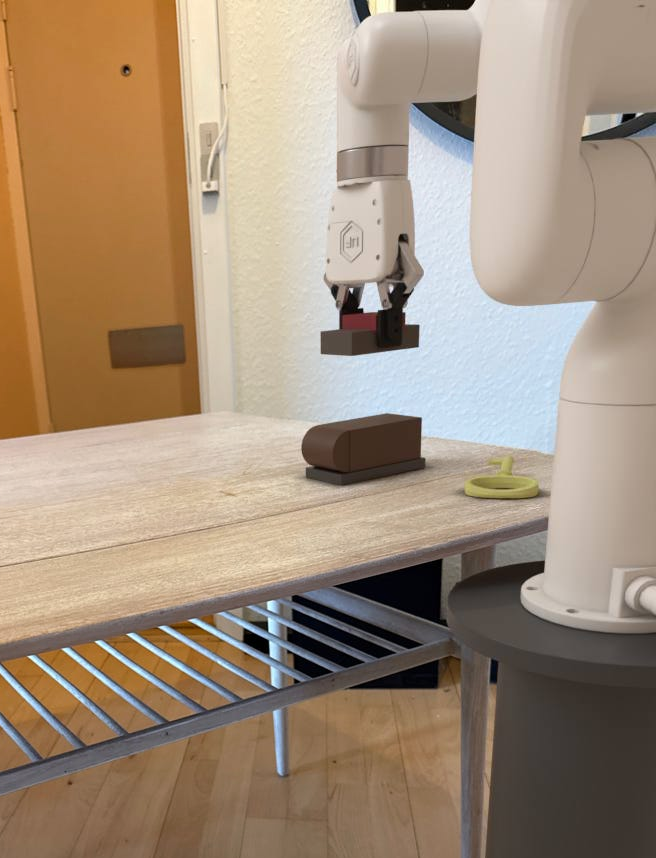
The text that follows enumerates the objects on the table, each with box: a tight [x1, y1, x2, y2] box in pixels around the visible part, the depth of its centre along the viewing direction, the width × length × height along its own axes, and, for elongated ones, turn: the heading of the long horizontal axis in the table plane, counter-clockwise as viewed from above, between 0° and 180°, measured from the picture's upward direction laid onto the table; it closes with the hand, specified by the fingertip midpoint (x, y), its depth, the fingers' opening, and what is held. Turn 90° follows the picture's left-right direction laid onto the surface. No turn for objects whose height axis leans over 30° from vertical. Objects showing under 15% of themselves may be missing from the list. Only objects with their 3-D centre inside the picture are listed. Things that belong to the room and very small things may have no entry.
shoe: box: [300, 412, 426, 486], centre depth 109 cm, size 14×7×6 cm, turn 120°
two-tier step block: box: [319, 311, 421, 357], centre depth 104 cm, size 10×6×4 cm, turn 120°
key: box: [464, 454, 540, 499], centre depth 99 cm, size 7×12×2 cm, turn 176°
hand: (369, 344), depth 105 cm, fingers closed on two-tier step block, 5 cm apart
